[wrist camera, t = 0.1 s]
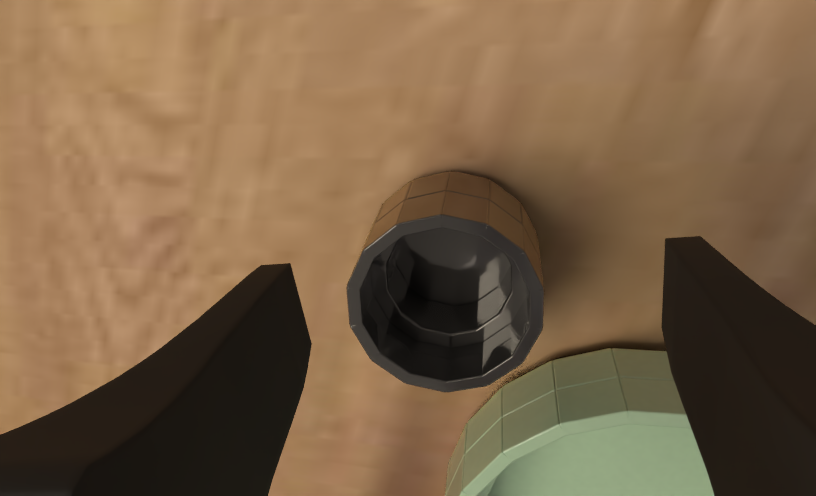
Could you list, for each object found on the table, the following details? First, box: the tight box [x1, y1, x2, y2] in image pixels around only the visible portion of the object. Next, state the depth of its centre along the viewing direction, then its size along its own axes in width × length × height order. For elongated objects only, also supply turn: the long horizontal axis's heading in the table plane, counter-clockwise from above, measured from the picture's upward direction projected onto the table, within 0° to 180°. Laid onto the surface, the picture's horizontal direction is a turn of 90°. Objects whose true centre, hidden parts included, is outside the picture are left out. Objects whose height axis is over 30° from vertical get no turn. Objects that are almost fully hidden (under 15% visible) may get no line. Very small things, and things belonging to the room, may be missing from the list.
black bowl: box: [346, 171, 544, 392], centre depth 23 cm, size 6×6×4 cm
